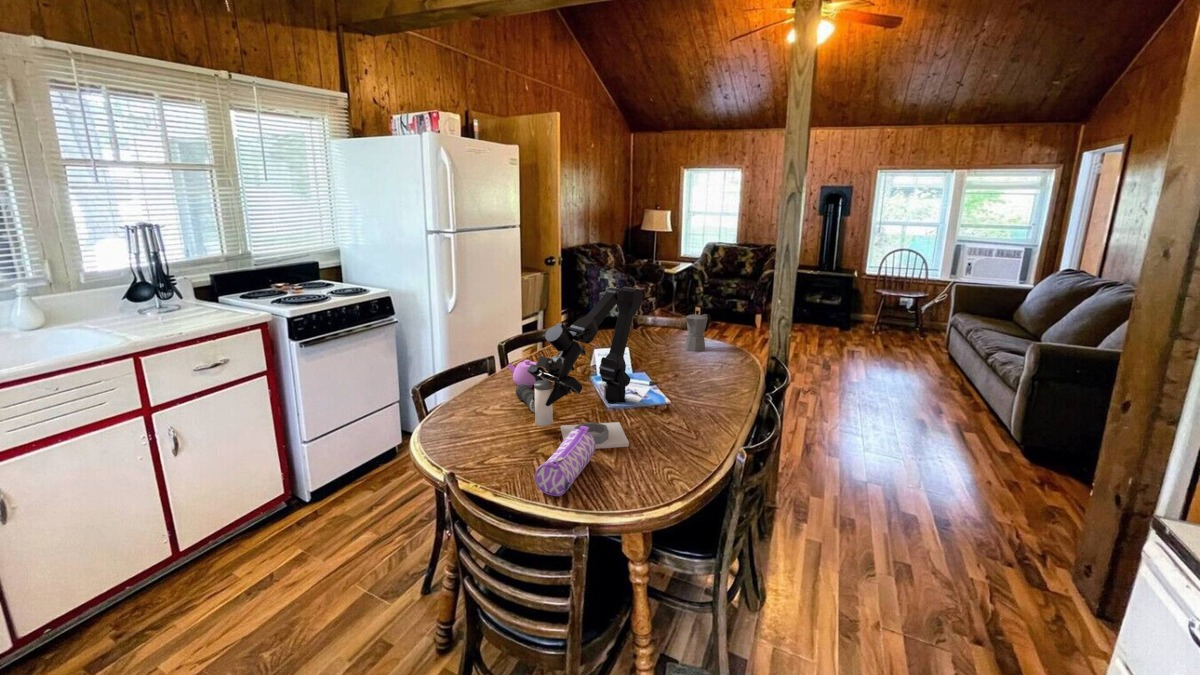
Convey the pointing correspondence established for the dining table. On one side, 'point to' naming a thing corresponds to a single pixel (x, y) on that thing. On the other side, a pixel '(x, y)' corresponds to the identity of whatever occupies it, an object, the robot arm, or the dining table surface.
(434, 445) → the dining table surface
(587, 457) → the pencil case
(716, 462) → the dining table surface
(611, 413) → the dining table surface
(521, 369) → the teapot
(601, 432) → the socket plate
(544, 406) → the canister
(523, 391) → the flashlight
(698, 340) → the coffeepot
